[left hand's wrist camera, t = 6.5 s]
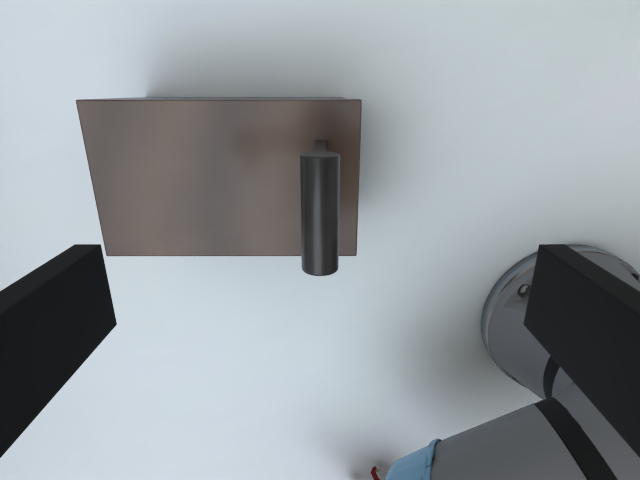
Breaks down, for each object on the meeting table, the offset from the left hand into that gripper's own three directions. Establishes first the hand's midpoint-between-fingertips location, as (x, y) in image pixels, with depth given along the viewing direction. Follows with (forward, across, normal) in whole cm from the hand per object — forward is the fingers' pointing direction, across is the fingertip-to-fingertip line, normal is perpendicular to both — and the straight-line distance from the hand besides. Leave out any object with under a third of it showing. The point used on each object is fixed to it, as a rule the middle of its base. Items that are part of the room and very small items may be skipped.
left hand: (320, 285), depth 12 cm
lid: (+15, -6, 0) cm, 16 cm away
